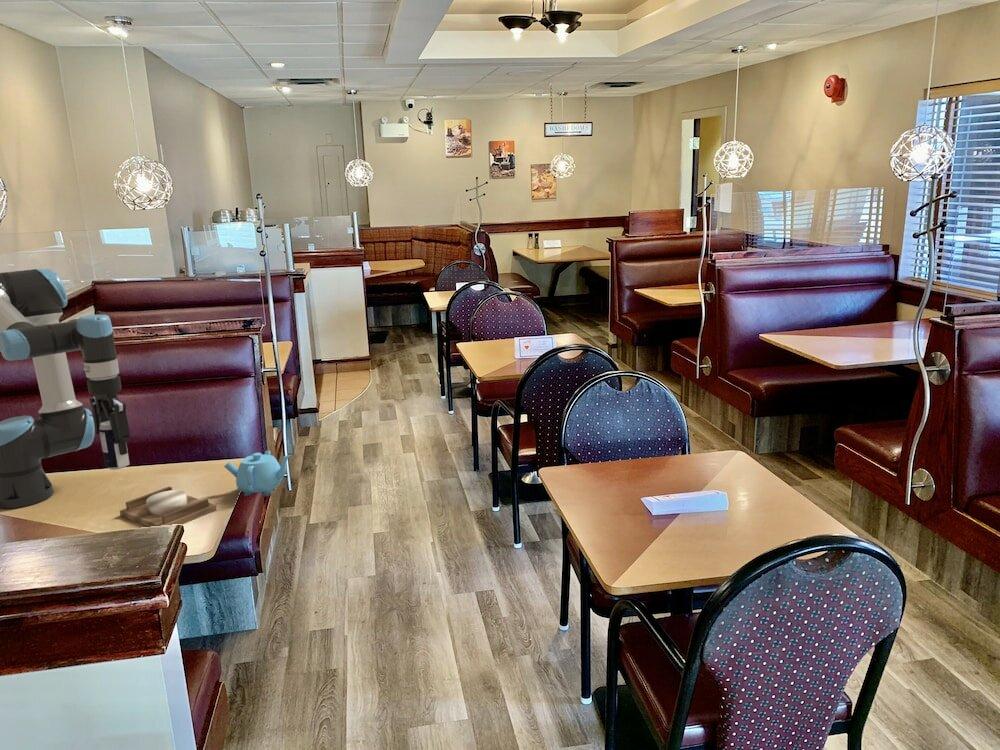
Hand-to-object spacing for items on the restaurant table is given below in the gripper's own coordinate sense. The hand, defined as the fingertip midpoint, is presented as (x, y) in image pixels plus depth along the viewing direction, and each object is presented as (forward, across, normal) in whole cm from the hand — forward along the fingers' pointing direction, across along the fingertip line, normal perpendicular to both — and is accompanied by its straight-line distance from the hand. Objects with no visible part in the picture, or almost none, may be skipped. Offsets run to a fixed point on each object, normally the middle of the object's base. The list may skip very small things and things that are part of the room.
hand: (117, 463), depth 200 cm
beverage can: (+1, 0, 0) cm, 1 cm away
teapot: (+17, +11, +34) cm, 40 cm away
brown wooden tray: (+17, +2, +10) cm, 20 cm away
